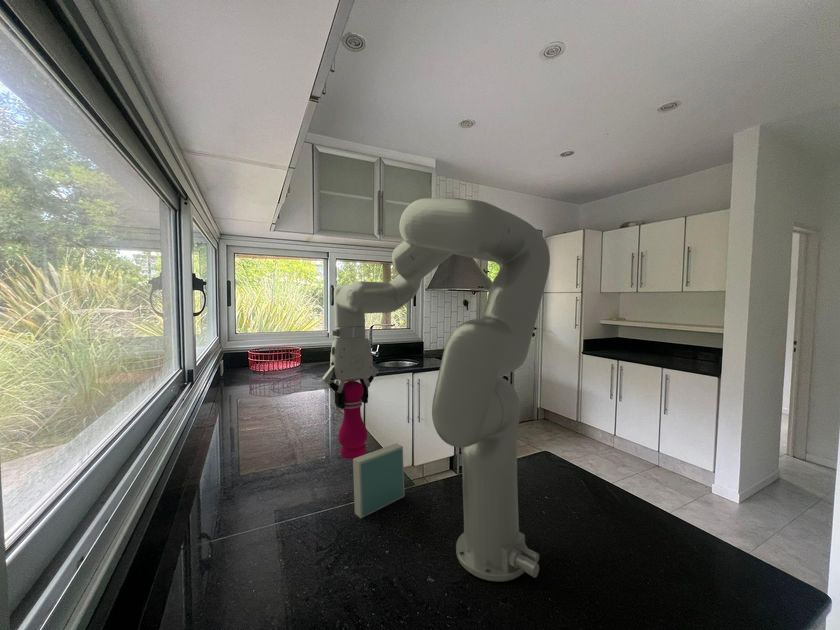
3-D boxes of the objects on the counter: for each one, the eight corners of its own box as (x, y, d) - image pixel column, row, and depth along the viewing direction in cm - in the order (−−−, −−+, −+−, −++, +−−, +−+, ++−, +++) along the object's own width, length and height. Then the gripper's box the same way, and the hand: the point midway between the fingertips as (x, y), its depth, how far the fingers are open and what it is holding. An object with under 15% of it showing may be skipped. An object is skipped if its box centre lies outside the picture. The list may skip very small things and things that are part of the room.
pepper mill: (332, 456, 82) (330, 376, 82) (351, 446, 89) (349, 371, 89) (355, 462, 79) (353, 378, 79) (373, 450, 85) (371, 373, 85)
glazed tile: (405, 497, 78) (403, 446, 78) (361, 519, 70) (359, 462, 70) (397, 492, 80) (396, 443, 80) (354, 513, 72) (352, 458, 72)
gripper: (325, 336, 75) (327, 415, 75) (386, 332, 87) (388, 400, 87) (311, 335, 81) (313, 409, 81) (370, 331, 92) (372, 396, 92)
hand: (352, 404), depth 84 cm, fingers closed on pepper mill, 6 cm apart
